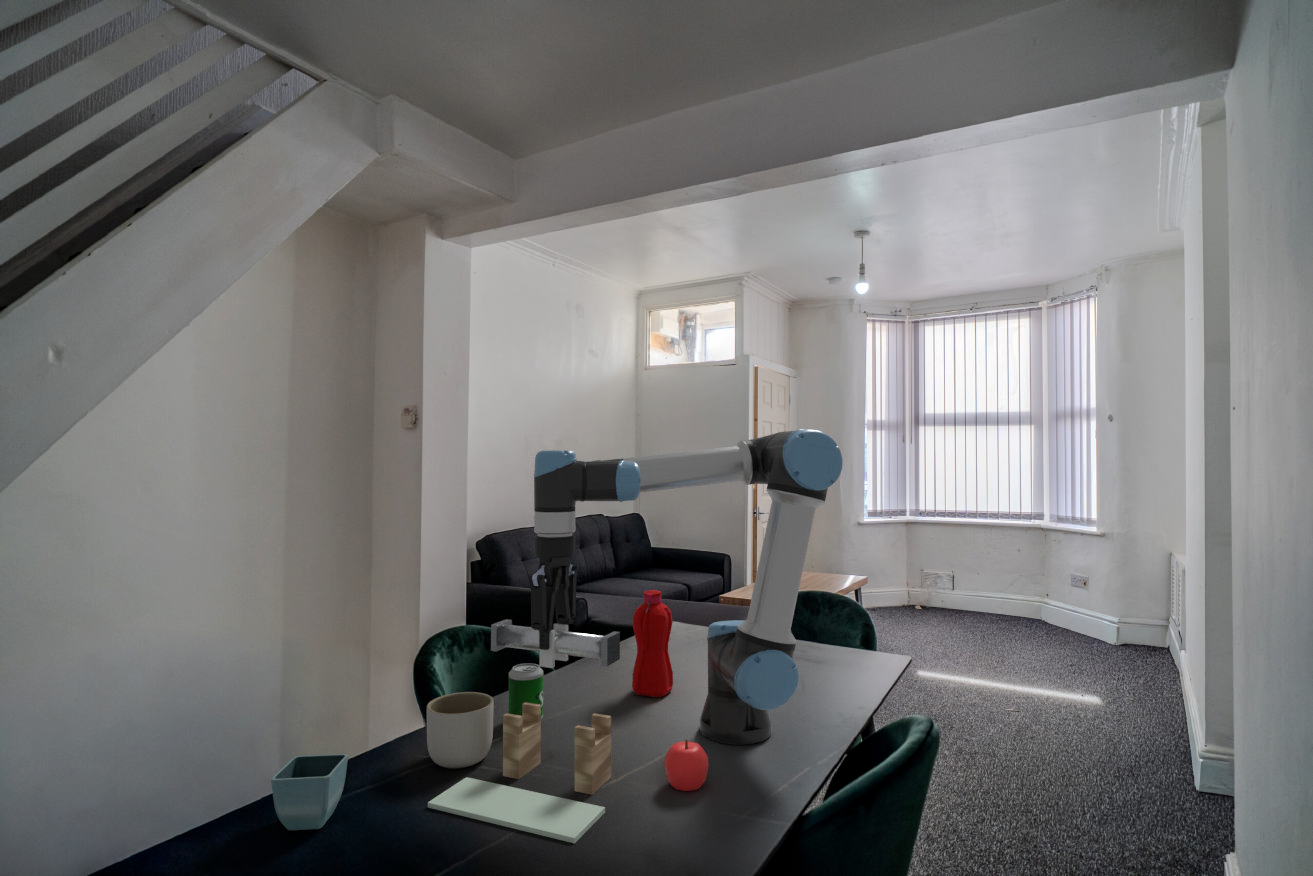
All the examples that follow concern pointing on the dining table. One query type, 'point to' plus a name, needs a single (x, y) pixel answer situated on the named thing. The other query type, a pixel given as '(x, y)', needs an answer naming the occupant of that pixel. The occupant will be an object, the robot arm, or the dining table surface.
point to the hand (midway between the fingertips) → (554, 662)
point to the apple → (686, 766)
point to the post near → (593, 754)
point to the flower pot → (309, 790)
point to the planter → (459, 728)
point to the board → (519, 809)
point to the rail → (557, 642)
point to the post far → (522, 741)
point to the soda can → (525, 687)
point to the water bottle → (652, 647)
